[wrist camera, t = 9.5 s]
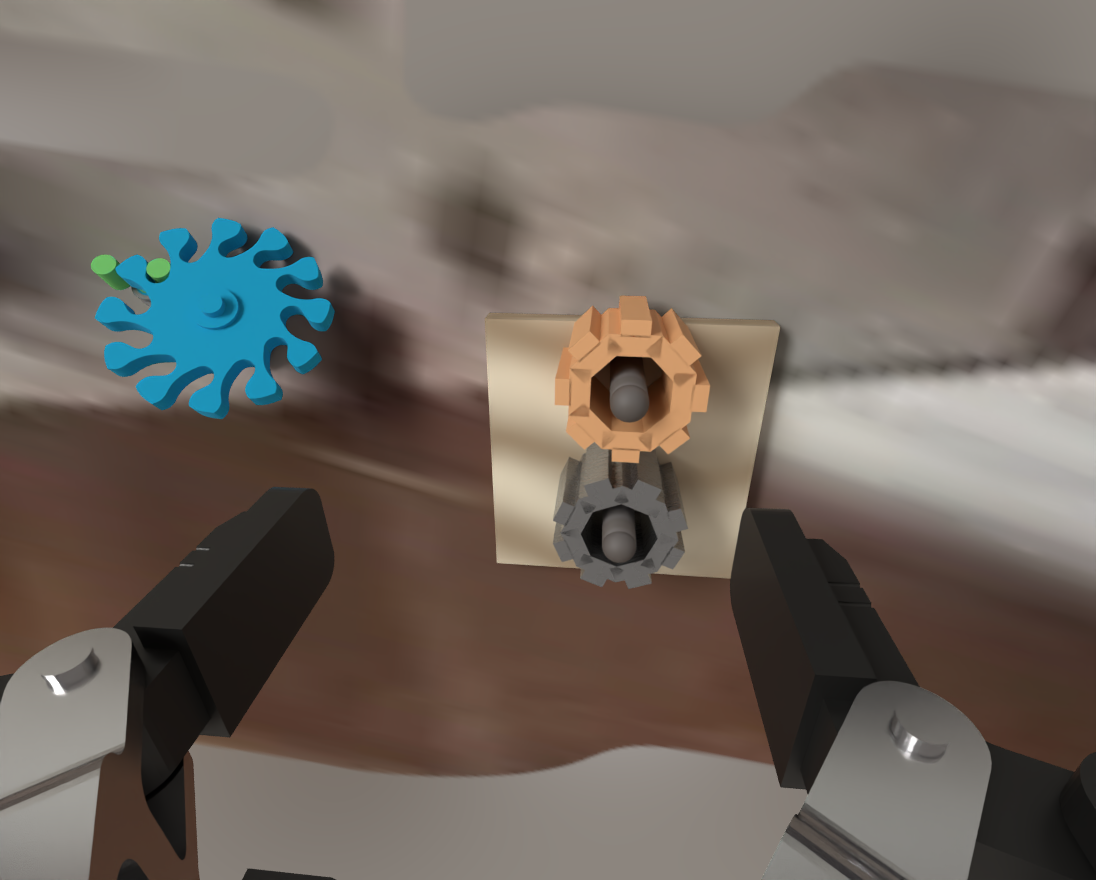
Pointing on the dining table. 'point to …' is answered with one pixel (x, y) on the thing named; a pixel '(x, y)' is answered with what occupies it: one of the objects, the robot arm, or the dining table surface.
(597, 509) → the gear
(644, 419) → the gear
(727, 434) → the peg board
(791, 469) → the dining table surface
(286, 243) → the blue sprocket wheel
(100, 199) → the dining table surface
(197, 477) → the dining table surface
